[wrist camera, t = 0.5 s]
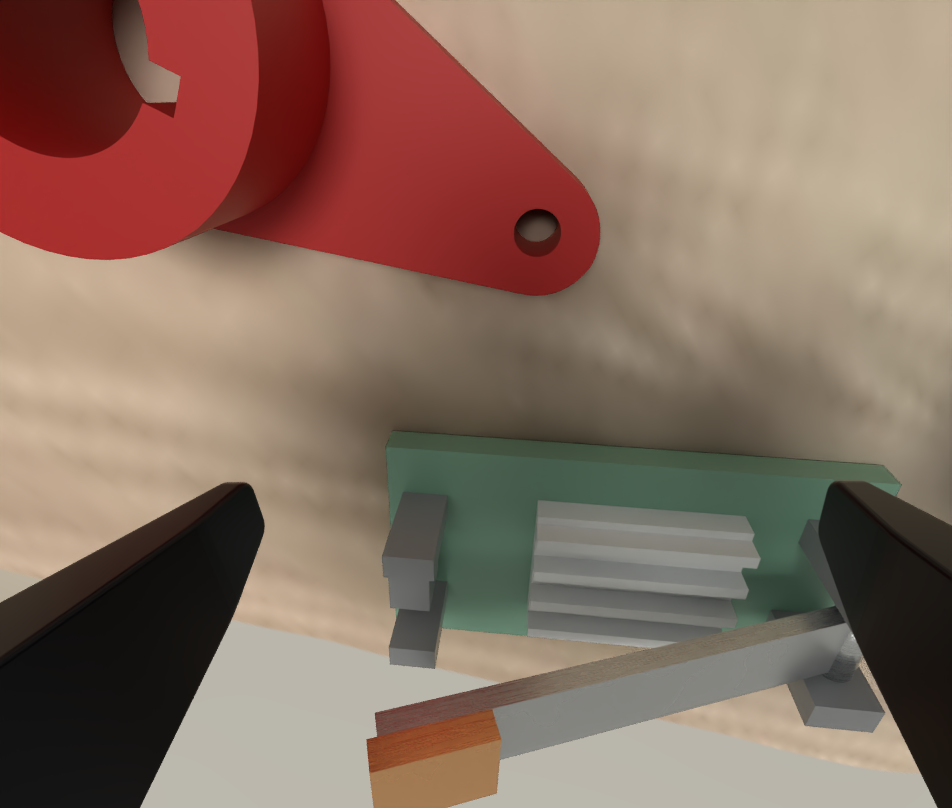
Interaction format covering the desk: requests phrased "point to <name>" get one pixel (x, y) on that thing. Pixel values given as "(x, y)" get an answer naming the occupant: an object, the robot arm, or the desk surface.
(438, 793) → the strap
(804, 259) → the desk surface
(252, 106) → the lever
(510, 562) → the base
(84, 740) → the robot arm
